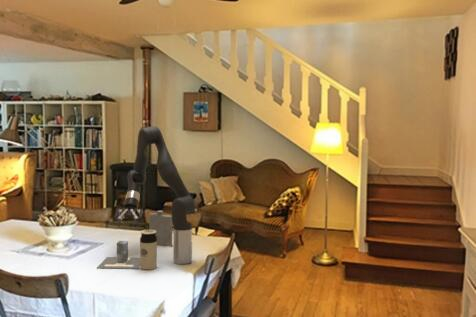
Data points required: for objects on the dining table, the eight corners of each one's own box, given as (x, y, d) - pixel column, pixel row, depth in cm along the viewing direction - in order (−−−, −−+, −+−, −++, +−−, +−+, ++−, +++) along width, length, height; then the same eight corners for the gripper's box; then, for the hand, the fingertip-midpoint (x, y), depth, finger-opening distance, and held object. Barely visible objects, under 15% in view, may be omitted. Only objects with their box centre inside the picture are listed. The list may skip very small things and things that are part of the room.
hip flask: (173, 245, 249) (173, 211, 247) (168, 247, 245) (169, 212, 244) (151, 241, 256) (151, 208, 255) (147, 243, 253) (147, 209, 251)
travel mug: (149, 263, 216) (149, 228, 214) (160, 267, 211) (160, 231, 209) (136, 267, 210) (136, 231, 208) (147, 271, 205) (147, 234, 203)
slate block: (128, 260, 219) (127, 241, 218) (125, 263, 215) (125, 243, 214) (119, 260, 219) (119, 240, 218) (116, 262, 215) (116, 243, 214)
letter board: (145, 258, 224) (145, 257, 224) (137, 269, 207) (137, 268, 207) (107, 257, 224) (107, 256, 224) (96, 268, 207) (96, 267, 207)
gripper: (117, 196, 232) (111, 222, 222) (143, 196, 232) (139, 222, 222) (120, 204, 238) (114, 229, 227) (146, 204, 238) (141, 230, 228)
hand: (126, 226), depth 225 cm, fingers open, 8 cm apart
